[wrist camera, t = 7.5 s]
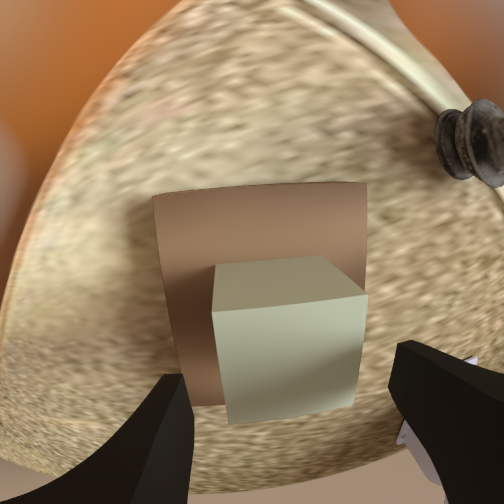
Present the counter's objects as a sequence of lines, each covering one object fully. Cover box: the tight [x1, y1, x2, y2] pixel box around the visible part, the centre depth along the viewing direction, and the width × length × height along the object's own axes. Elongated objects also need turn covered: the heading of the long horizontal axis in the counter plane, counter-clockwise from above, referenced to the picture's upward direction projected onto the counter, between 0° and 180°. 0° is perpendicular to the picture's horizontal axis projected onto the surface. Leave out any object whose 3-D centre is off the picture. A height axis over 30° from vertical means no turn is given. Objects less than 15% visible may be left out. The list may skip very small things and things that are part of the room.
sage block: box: [212, 255, 368, 424], centre depth 12 cm, size 5×5×5 cm
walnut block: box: [152, 182, 367, 406], centre depth 16 cm, size 12×10×3 cm
